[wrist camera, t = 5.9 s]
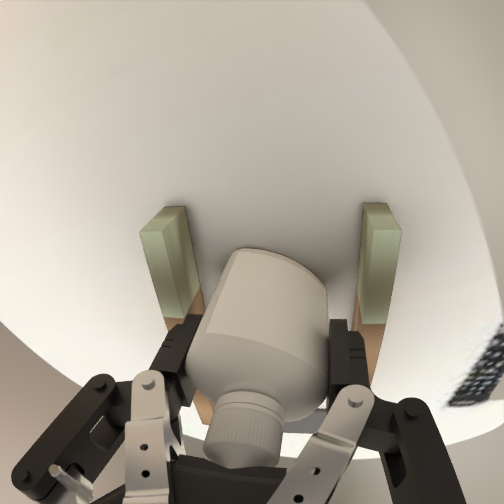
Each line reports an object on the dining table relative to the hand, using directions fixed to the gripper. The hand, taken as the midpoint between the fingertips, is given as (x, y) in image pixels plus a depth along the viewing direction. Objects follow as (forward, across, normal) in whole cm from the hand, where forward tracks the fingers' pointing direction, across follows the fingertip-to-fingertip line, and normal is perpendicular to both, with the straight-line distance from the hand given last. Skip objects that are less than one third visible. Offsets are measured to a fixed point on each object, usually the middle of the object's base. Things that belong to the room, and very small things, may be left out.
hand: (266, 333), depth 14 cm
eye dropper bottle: (+5, 0, 0) cm, 5 cm away
